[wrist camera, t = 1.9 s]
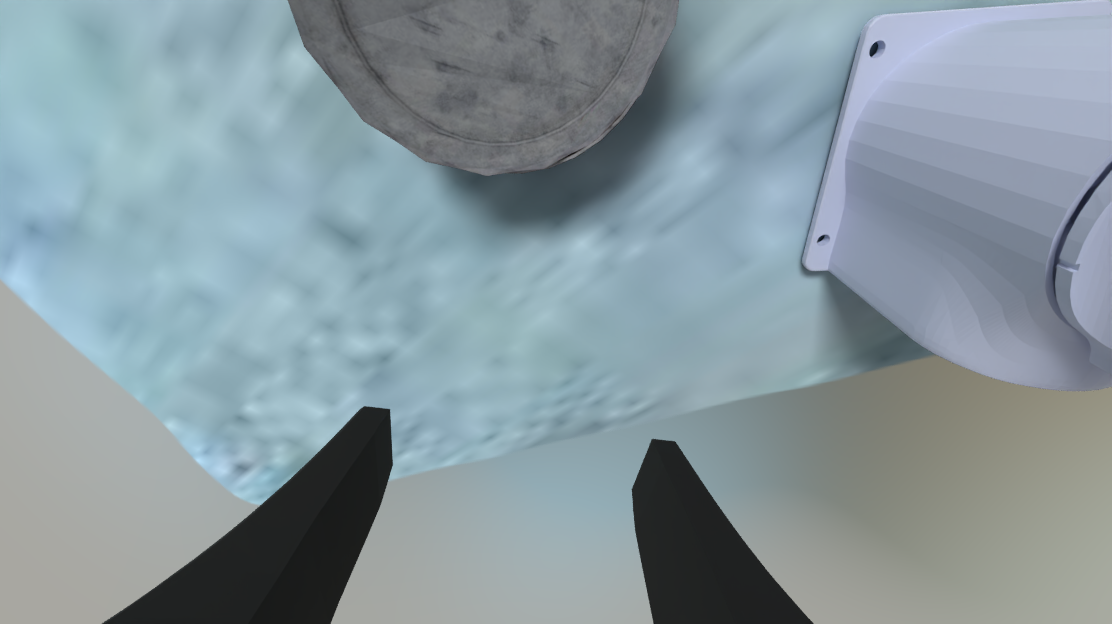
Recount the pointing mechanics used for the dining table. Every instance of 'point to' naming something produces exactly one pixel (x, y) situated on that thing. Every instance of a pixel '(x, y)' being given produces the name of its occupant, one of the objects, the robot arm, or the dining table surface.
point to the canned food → (489, 72)
